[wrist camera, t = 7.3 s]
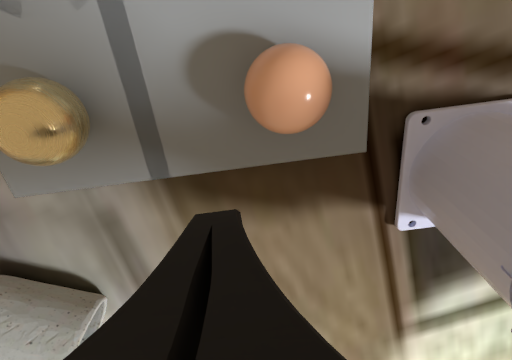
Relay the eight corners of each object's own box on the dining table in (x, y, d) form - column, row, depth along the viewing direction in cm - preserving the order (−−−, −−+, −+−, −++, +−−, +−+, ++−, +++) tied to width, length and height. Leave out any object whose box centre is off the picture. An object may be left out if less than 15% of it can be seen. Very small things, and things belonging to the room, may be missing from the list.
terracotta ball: (319, 34, 14) (344, 41, 11) (321, 114, 15) (343, 140, 12) (237, 45, 14) (238, 55, 11) (248, 123, 15) (251, 152, 12)
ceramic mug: (-18, 244, 21) (-141, 361, 14) (114, 271, 22) (62, 388, 16) (-13, 346, 25) (-104, 470, 19) (96, 362, 27) (49, 482, 20)
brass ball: (86, 65, 14) (42, 80, 11) (112, 141, 15) (82, 174, 12) (4, 75, 14) (-63, 94, 11) (39, 151, 15) (-10, 187, 12)
